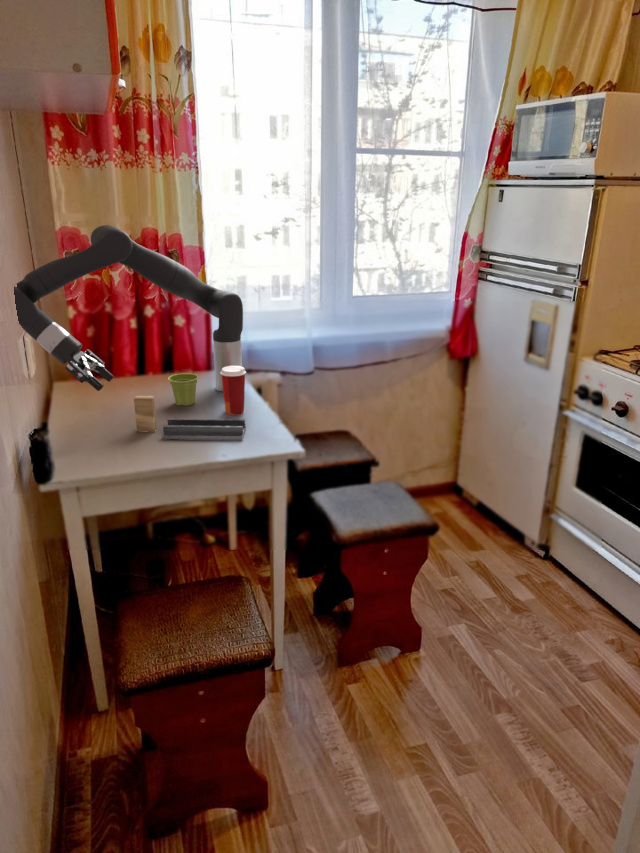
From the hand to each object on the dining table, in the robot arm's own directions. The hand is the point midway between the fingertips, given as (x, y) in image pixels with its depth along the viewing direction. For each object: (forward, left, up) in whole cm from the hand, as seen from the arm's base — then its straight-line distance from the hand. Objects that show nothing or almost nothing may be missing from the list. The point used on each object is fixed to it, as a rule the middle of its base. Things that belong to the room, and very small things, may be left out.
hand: (106, 383), depth 170 cm
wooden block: (0, +10, -14) cm, 17 cm away
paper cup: (-16, +33, -14) cm, 39 cm away
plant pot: (-24, +16, -14) cm, 32 cm away
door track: (+2, +27, -14) cm, 30 cm away
